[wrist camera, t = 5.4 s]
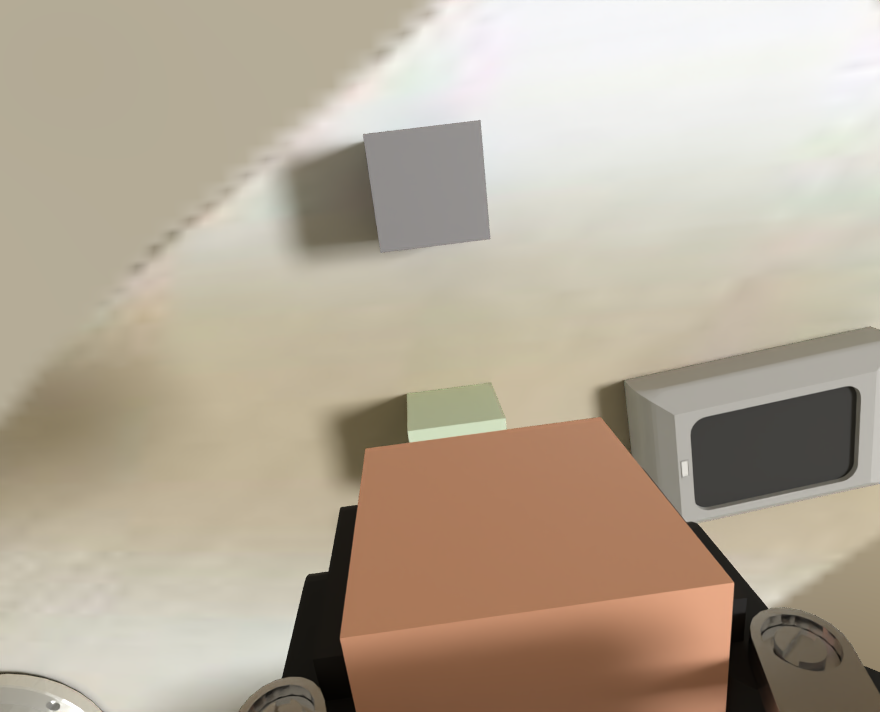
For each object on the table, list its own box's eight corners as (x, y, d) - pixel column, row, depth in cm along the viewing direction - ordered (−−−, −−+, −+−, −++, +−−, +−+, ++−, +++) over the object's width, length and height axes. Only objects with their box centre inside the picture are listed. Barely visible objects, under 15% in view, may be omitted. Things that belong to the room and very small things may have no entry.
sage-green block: (497, 456, 34) (512, 502, 30) (417, 467, 34) (420, 515, 30) (490, 382, 33) (505, 418, 28) (406, 393, 33) (407, 431, 28)
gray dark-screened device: (906, 491, 33) (660, 545, 33) (858, 461, 37) (635, 509, 37) (918, 342, 30) (646, 401, 30) (864, 324, 34) (621, 377, 34)
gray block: (477, 227, 30) (490, 238, 25) (384, 239, 30) (380, 252, 25) (467, 128, 28) (480, 120, 24) (370, 139, 28) (362, 134, 23)
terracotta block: (605, 605, 13) (716, 844, 9) (398, 635, 13) (396, 892, 8) (600, 417, 12) (734, 582, 7) (365, 448, 12) (340, 637, 7)
